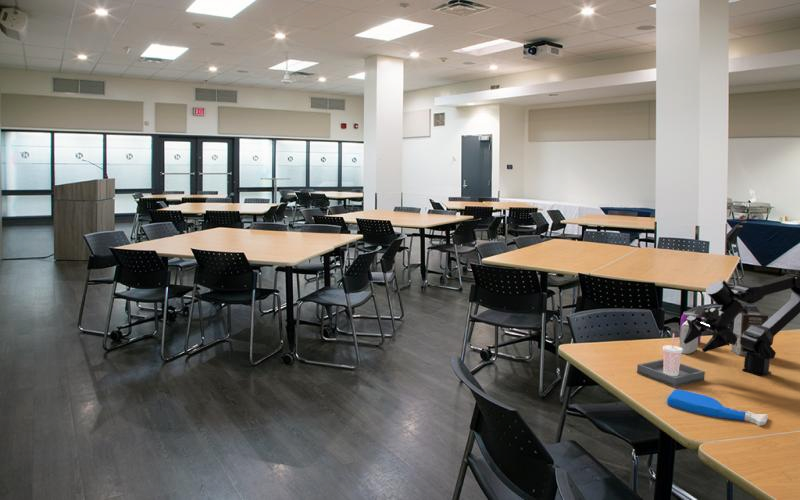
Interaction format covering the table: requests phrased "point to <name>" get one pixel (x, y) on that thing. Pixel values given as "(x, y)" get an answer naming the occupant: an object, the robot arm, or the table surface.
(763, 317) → the coffee box
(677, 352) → the beverage cup
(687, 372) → the tray
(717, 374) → the table surface
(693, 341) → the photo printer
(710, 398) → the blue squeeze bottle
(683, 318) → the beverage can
